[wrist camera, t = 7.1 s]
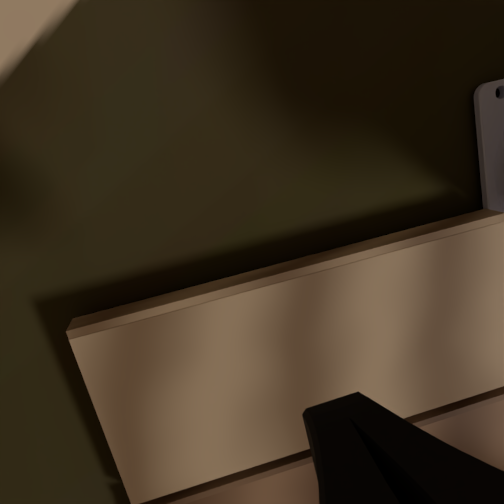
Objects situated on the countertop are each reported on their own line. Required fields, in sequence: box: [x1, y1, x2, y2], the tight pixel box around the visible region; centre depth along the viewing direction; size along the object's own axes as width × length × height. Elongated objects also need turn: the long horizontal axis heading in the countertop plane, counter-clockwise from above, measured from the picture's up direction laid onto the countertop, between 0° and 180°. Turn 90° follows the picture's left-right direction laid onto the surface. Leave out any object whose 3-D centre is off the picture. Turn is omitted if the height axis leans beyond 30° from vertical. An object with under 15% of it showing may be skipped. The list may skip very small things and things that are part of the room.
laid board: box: [140, 386, 504, 504], centre depth 21 cm, size 18×7×1 cm, turn 103°
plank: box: [66, 209, 504, 504], centre depth 18 cm, size 18×8×1 cm, turn 103°
